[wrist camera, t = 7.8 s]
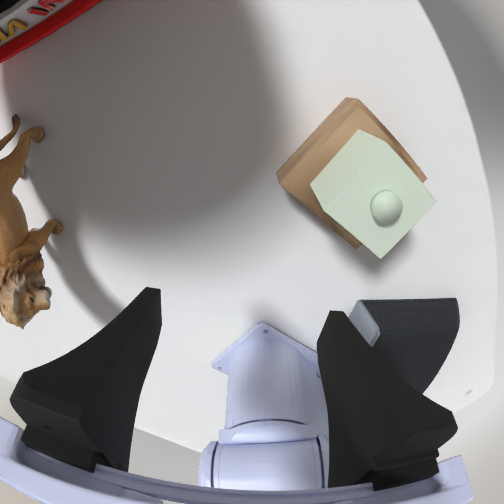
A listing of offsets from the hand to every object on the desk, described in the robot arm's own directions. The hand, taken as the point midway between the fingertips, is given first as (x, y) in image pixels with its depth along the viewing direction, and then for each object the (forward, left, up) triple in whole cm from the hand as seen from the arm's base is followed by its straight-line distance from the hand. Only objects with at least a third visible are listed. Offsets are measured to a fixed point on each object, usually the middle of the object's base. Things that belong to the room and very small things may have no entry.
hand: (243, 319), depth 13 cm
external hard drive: (-23, +4, -11) cm, 26 cm away
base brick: (-3, -7, -10) cm, 13 cm away
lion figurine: (+14, +9, -11) cm, 20 cm away
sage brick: (-3, -7, -8) cm, 11 cm away
